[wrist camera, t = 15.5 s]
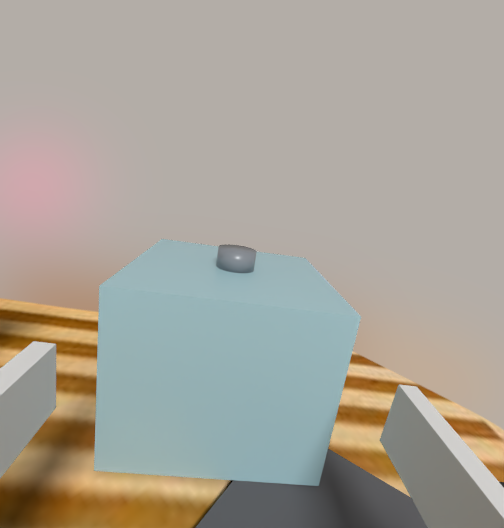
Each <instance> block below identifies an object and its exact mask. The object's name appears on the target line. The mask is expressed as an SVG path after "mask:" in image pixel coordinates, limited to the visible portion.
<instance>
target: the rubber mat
mask: <svg viewBox="0 0 504 528" xmlns="http://www.w3.org/2000/svg"><path fill="white" fill-rule="evenodd" d="M196 528H428V527H427V525H426V524H425V522H424V520H423V518H422V516H421V514H420V513H419V511H418V509H417V507H416V505H415V503H414V502H413V500H412V498H410V497H409V496H407V495H405V494H404V493H402V492H400V491H399V490H397V489H395V488H394V487H392V486H390V485H388V484H387V483H385V482H383V481H382V480H380V479H378V478H377V477H375V476H373V475H372V474H370V473H368V472H367V471H365V470H363V469H361V468H360V467H358V466H356V465H355V464H353V463H351V462H350V461H348V460H346V459H345V458H343V457H341V456H340V455H338V454H336V453H335V452H333V451H331V450H329V449H328V450H327V454H326V458H325V462H324V466H323V470H322V474H321V478H320V482H319V486H310V485H295V484H281V483H266V482H251V481H237V480H233V481H232V483H231V484H230V485H229V486H228V488H227V489H226V490H225V491H224V493H223V494H222V495H221V496H220V498H219V499H218V500H217V501H216V503H215V504H214V505H213V506H212V508H211V509H210V510H209V511H208V513H207V514H206V515H205V516H204V518H203V519H202V520H201V521H200V523H199V524H198V525H197V526H196Z"/></svg>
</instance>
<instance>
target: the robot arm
mask: <svg viewBox="0 0 504 528" xmlns="http://www.w3.org/2000/svg"><path fill="white" fill-rule="evenodd" d="M55 408H56V344H52V343H44V342H35V341H34V342H32V343H31V344H30V345H29V346H27V347H26V348H25V349H24V350H22V351H21V352H20V353H19V354H18V355H16V356H15V357H14V358H13V359H11V360H10V361H9V362H8V363H6V364H5V365H4V366H3V367H2V368H0V478H1V477H2V476H3V474H4V473H5V472H6V471H7V469H8V468H9V467H10V466H11V464H12V463H13V462H14V460H15V459H16V458H17V457H18V455H19V454H20V453H21V451H22V450H23V449H24V448H25V446H26V445H27V444H28V443H29V441H30V440H31V439H32V437H33V436H34V435H35V434H36V432H37V431H38V430H39V429H40V427H41V426H42V425H43V423H44V422H45V421H46V420H47V418H48V417H49V416H50V414H51V413H52V412H53V411H54V409H55ZM380 441H381V443H382V445H383V447H384V449H385V450H386V452H387V454H388V456H389V458H390V460H391V461H392V463H393V465H394V467H395V469H396V471H397V472H398V474H399V476H400V478H401V480H402V482H403V483H404V485H405V487H406V489H407V491H408V492H409V494H410V496H411V498H412V500H413V502H414V503H415V505H416V507H417V509H418V511H419V513H420V514H421V516H422V518H423V520H424V522H425V524H426V525H427V527H428V528H504V482H498V481H497V479H496V478H495V477H494V476H493V475H492V474H491V472H490V471H489V470H488V469H487V468H486V467H485V465H484V464H483V463H482V462H481V461H480V460H479V458H478V457H477V456H476V455H475V454H474V453H473V452H472V450H471V449H470V448H469V447H468V446H467V445H466V443H465V442H464V441H463V440H462V439H461V438H460V436H459V435H458V434H457V433H456V432H455V431H454V429H453V428H452V427H451V426H450V425H449V424H448V422H447V421H446V420H445V419H444V418H443V417H442V416H441V414H440V413H439V412H438V411H437V410H436V409H435V407H434V406H433V405H432V404H431V403H430V402H429V400H428V399H427V398H426V397H425V396H424V395H423V393H422V392H421V391H420V390H419V389H418V388H417V387H415V386H407V385H398V388H397V391H396V394H395V397H394V400H393V403H392V406H391V409H390V412H389V415H388V417H387V420H386V423H385V426H384V429H383V432H382V435H381V438H380Z"/></svg>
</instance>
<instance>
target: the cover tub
mask: <svg viewBox="0 0 504 528" xmlns="http://www.w3.org/2000/svg"><path fill="white" fill-rule="evenodd" d="M360 319H361V316H360V315H359V314H358V313H357V312H356V311H355V310H354V309H353V308H352V307H351V306H350V305H349V304H348V303H347V301H345V299H344V298H343V297H342V296H341V295H340V294H339V293H338V292H337V291H336V290H335V289H334V288H333V287H332V286H331V285H330V284H329V283H328V281H327V280H326V279H325V278H324V277H323V276H322V275H321V274H320V273H319V272H318V271H317V270H316V269H315V268H314V267H313V266H312V265H311V264H310V262H309V261H308V260H307V259H306V258H301V257H293V256H285V255H278V254H270V253H262V252H257V251H255V250H254V249H251V248H248V247H244V246H238V245H220V246H219V247H218V246H210V245H203V244H196V243H188V242H181V241H173V240H166V239H161V240H160V241H159V242H157V243H156V244H155V245H154V246H152V247H151V248H149V249H148V250H147V251H145V252H144V253H143V254H141V255H140V256H139V257H137V258H136V259H135V260H134V261H132V262H131V263H130V264H128V265H127V266H125V267H124V268H123V269H121V270H120V271H119V272H117V273H116V274H115V275H113V276H112V277H111V278H109V279H108V280H106V281H105V282H104V283H102V284H101V285H100V286H99V318H98V353H97V388H96V423H95V458H94V471H105V472H119V473H134V474H149V475H163V476H178V477H193V478H207V479H222V480H237V481H251V482H266V483H281V484H295V485H310V486H319V482H320V478H321V474H322V470H323V466H324V462H325V458H326V454H327V450H328V446H329V442H330V438H331V434H332V431H333V427H334V423H335V419H336V415H337V411H338V407H339V403H340V399H341V395H342V391H343V387H344V383H345V379H346V375H347V371H348V367H349V363H350V359H351V355H352V351H353V347H354V343H355V339H356V335H357V330H358V327H359V323H360Z"/></svg>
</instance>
